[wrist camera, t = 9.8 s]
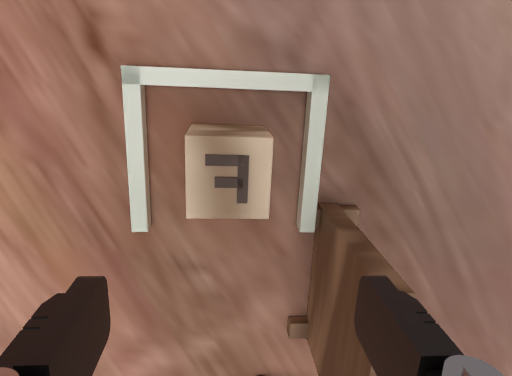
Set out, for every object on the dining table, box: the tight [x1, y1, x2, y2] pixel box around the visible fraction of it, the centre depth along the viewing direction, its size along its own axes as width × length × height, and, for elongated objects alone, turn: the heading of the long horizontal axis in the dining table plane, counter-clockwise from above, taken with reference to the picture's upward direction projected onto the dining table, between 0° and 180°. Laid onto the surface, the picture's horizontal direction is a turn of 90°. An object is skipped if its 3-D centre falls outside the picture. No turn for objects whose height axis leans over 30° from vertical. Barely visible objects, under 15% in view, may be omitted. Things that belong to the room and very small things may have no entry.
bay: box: [121, 65, 330, 232], centre depth 28 cm, size 14×12×2 cm
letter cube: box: [185, 123, 273, 219], centre depth 26 cm, size 6×6×6 cm
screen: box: [287, 203, 415, 376], centre depth 26 cm, size 5×13×13 cm, turn 178°
